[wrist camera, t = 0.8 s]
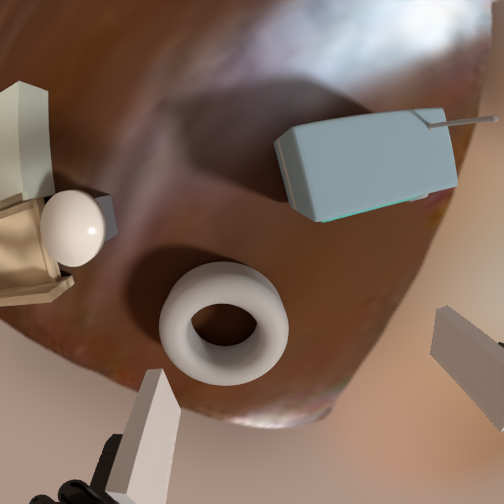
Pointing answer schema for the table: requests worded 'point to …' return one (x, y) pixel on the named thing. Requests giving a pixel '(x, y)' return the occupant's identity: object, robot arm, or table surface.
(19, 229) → the wooden drawer
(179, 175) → the table surface
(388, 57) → the table surface
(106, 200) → the block
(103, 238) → the white smooth rounded piece
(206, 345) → the donut shape
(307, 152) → the radio
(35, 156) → the drawer cabinet
